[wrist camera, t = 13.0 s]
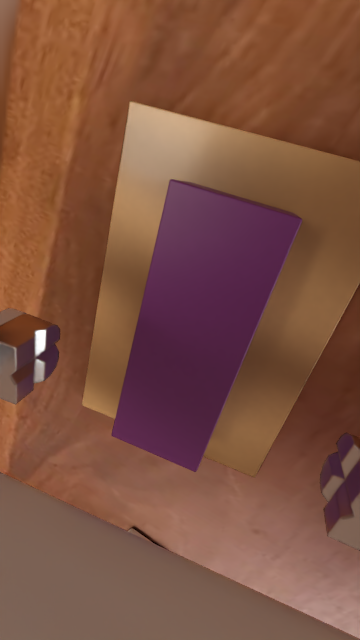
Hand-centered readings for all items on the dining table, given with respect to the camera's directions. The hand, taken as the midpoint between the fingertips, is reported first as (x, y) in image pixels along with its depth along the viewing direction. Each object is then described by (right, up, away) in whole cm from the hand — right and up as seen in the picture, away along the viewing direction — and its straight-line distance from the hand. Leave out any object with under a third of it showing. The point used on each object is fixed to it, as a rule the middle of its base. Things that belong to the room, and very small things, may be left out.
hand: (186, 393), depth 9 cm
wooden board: (+1, +2, +7) cm, 7 cm away
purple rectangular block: (+1, +2, +6) cm, 7 cm away
